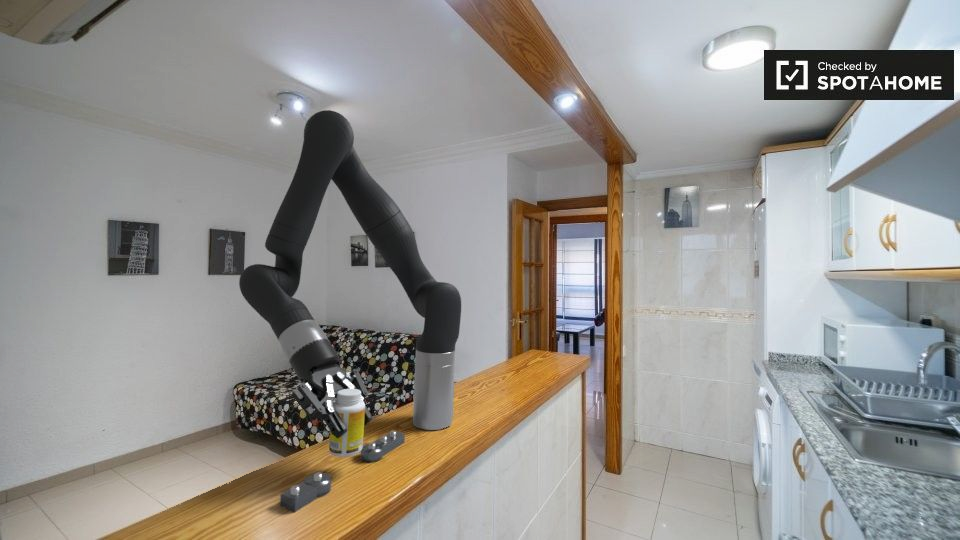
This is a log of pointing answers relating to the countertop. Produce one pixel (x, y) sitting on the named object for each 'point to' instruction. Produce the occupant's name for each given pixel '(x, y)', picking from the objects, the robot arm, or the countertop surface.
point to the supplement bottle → (349, 423)
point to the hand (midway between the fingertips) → (355, 428)
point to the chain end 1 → (306, 491)
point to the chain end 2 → (382, 446)
